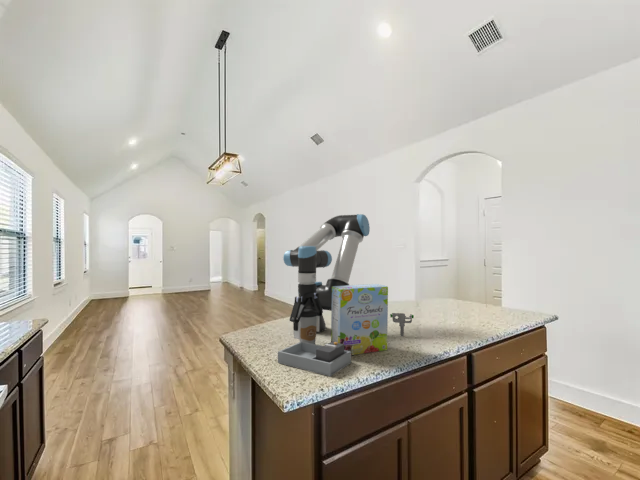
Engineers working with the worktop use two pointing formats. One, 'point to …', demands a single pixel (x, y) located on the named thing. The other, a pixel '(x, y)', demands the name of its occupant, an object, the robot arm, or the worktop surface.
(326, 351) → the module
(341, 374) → the worktop surface
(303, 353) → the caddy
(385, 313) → the snack box
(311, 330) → the coffee cup
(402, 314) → the mechanical component
